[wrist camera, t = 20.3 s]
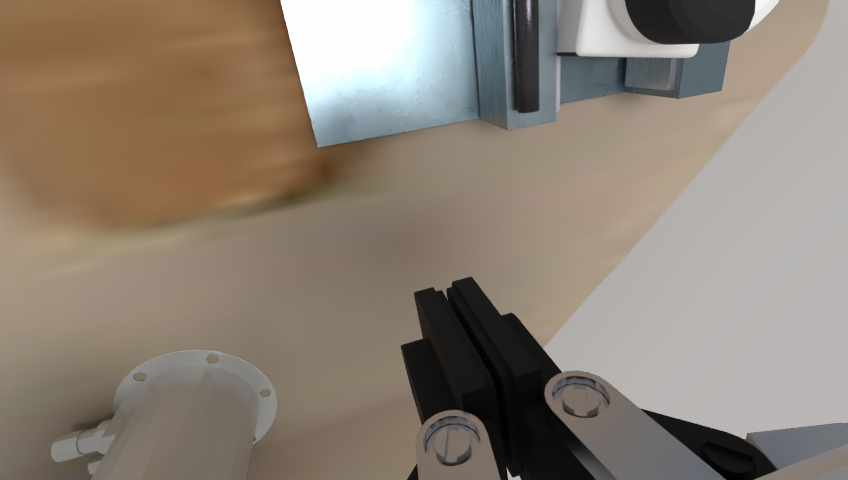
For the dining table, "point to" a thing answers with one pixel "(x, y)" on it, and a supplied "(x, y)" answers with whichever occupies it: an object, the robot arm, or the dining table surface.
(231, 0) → the dining table surface
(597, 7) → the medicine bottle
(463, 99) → the base
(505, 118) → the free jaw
